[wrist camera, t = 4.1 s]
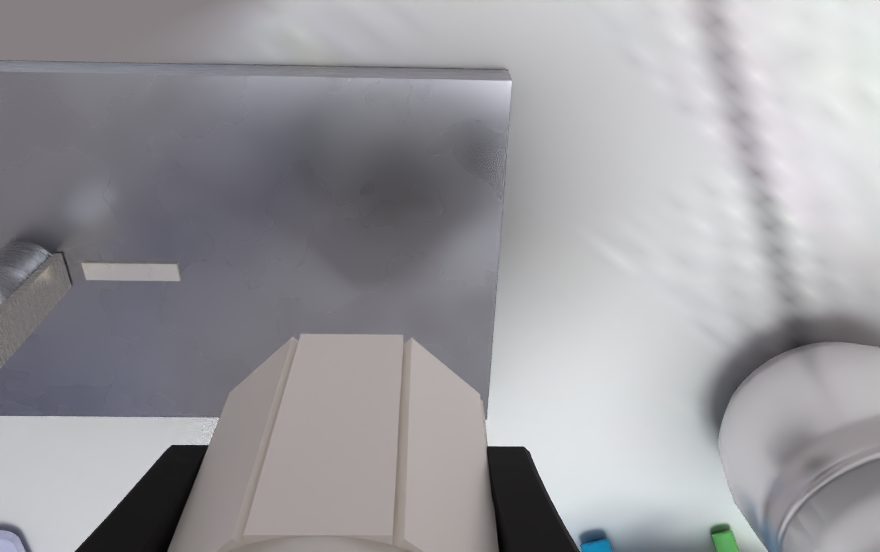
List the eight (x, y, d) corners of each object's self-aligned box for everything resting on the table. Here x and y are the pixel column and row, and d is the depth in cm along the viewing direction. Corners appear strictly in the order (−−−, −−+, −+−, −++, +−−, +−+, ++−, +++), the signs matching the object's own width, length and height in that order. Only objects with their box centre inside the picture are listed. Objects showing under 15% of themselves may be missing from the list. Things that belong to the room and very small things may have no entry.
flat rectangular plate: (-39, 392, 21) (-148, 512, 17) (-187, 56, 15) (-393, 116, 12) (484, 397, 21) (496, 515, 17) (507, 70, 16) (532, 132, 12)
